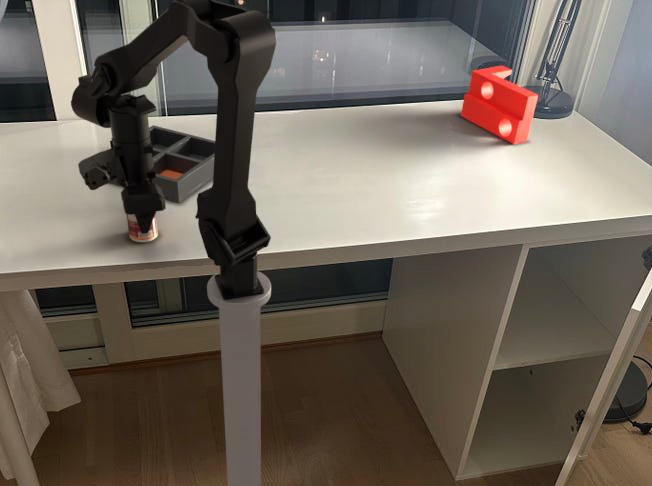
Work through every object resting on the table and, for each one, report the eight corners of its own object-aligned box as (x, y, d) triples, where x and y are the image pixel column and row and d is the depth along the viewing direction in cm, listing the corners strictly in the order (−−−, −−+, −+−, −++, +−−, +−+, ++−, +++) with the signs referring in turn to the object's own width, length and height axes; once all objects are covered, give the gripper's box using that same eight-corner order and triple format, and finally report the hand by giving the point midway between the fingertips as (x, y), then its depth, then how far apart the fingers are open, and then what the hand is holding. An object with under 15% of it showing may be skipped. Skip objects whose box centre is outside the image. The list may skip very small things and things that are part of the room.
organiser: (232, 164, 142) (232, 145, 140) (179, 203, 129) (177, 182, 127) (155, 144, 148) (153, 125, 146) (96, 179, 135) (93, 158, 133)
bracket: (469, 71, 160) (502, 65, 164) (460, 115, 167) (492, 109, 171) (525, 97, 149) (559, 90, 153) (513, 144, 155) (546, 136, 159)
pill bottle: (138, 226, 122) (132, 182, 117) (162, 232, 121) (158, 187, 116) (123, 239, 119) (117, 194, 113) (149, 245, 118) (143, 200, 112)
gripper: (72, 117, 113) (87, 205, 123) (82, 167, 100) (99, 261, 110) (142, 111, 116) (151, 198, 126) (161, 159, 103) (170, 251, 113)
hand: (142, 225), depth 119 cm, fingers closed on pill bottle, 5 cm apart
